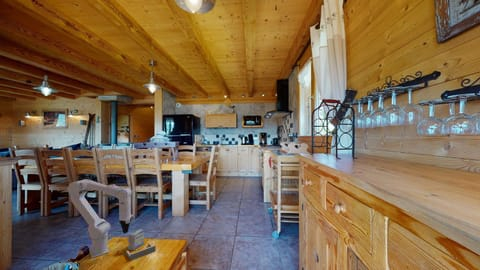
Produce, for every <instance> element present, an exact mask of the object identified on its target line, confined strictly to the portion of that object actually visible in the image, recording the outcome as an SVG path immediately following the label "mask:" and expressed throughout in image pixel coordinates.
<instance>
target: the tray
mask: <svg viewBox="0 0 480 270" xmlns="http://www.w3.org/2000/svg"><path fill="white" fill-rule="evenodd" d="M147 246H148V247H146V248H143V249H140V250H137V251H135V252H132V253H130V250H126V251H125V255H126V256H127V258H128V259H129V260H130V262H131V261H134V260H136V259H139V258H141V257H144V256H146V255H149V254H151V253H154V252H156V248H157V247H156V244H154V245H153V244H152V242H148V245H147Z"/></svg>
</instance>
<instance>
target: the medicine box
mask: <svg viewBox="0 0 480 270" xmlns="http://www.w3.org/2000/svg"><path fill="white" fill-rule="evenodd" d="M144 241H145V230H144V229H136V230H135V231H133V232H131V233H130V234H128V244H127V245H128V246H127V247H128V251H130V250H131V251H136V250H137V249H139V248H140V247H141V246H142V245H144V243H145V242H144Z"/></svg>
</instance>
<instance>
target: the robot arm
mask: <svg viewBox="0 0 480 270" xmlns="http://www.w3.org/2000/svg"><path fill="white" fill-rule="evenodd" d="M89 189H90V190H94V191H95V190H96V191H100V192H104V193H105V195H107V196H112V197H115V198H116V199H118V207H119V208H118V209H119V210H118V213H119V214H118V216H119V217H118V220H119V221H118V222H119V224H120V226H121V230H122V233H123V234H127V233H128V232H129V228H130V225H131V223H132V219H131V218H133V217H134V214H132V213H131V205H132V204H131V196H132V194H133V191H132V188H130V187H127V186H126V187H124V186H118V185H116V183H115V184H109V185H107V184H103V183H100V182H97V181H95V180H94V181H93V180H92V179H87V178H84V179H81V180H78V181H73V182H70V184H69V185H68V187H67V190H66V191H67V193H68V194H69V197H70V201H71V203H72V204H73V206H74V207H75V209H77V211H78V212H79V214H80V215H81V217H83V219H84V221H85V222H86V223H87V225H88V227H87V232H88V235H89V237H90V239H91V249H90V250H89V254H90V257H91V259H93V258H96V257H100V256H102V255H103V256H104V255H105V254H108V253H109V252H110V250H109V248H108V242H109V241H108V239H109V237H108V234H109V231H110V230H111V223H109V222H108V221H106V219H104V218H100V216H99V215H98V214H97V213H96V211H95V209H93V207H92V206H91V203H89V202H88V200H87V199H86V197H85V196H86V194H87V192H88V191H89Z"/></svg>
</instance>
